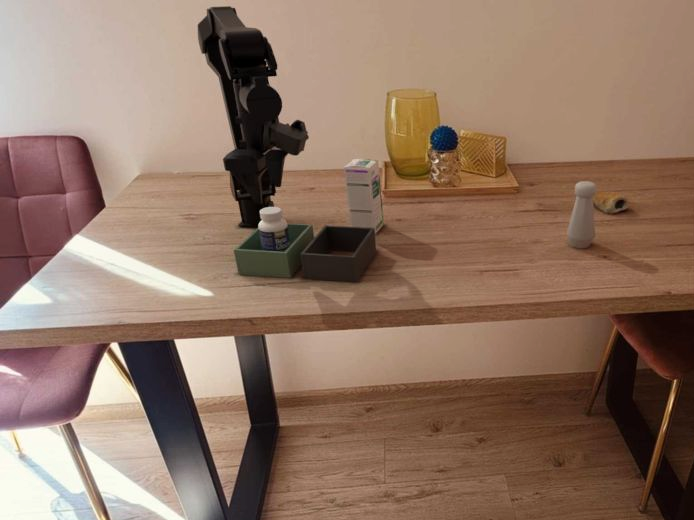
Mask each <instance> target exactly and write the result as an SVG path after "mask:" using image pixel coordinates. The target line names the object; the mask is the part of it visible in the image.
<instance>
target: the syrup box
mask: <svg viewBox="0 0 694 520" xmlns="http://www.w3.org/2000/svg"><path fill="white" fill-rule="evenodd" d="M379 165H380V164H379V160H377V159H372V158H353V159H352V161H350V162H349V163H347V164H346V165H344V166H343V172H344V182H345V191H346V199H347V207H348V215H349V217H348V218H349V224H350V227H364V228H374V229H375V235H376V234H377V233H378V232H379V230H380V229H381V228H382V227H383V226H384V225H385V221H384V211H383V210H384V209H383V198H382V186H381V178H380V177H381V176H380V166H379Z"/></svg>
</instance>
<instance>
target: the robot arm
mask: <svg viewBox="0 0 694 520" xmlns="http://www.w3.org/2000/svg"><path fill="white" fill-rule="evenodd" d="M197 40H198V46H199V49H200V52H201V55H204V56H205V57H204V58H205V60H206V64H207V65H208V67H209V68H210V69H211V70H212V71H213V72H214V74H215V75H216V76H217V77H218V81H219V86H220V90H221V91H220V92H221V94H222V99H223V103H224V107H225V108H224V109H225V113H226V118H227V121H228V126H229V130H230V135H231V140H232V143H233V150H231V151H230V152H228V153H226V155H224V156H223V158H222V162H223V166H224V167H223V168H224V171H225V172H229V188H230V192H231V196H232V197H233V199H234V201H235V202H237V204H238V209H239V214H240V219H241V221H240V222H239V223H238V227H243V228H256V229H257V228H258V225H259V222H260V221H261V220H262V219H261V217H260V210H261V209H263V208H266V207H275V204H274V201H273V200H272V198H271V197H274V196H276V194H277V190H276V189H277V188H282V182H283V175H284V167H285V161H286V158H287V156H288V155H291V156H294V157H295V156H299V155H300V153H301V152H304V151H305V146H306V142H307V141H308V140H309V139H310V137H309V131H308V130H307V128H306V123H305V121H302V120H300V119H296V120H294V121H293V122H292V123H291V124H290V123H288V122H287V123H283V122H280V118H279V116H280V114H281V112H282V109H283V100H282V97H281V95H280V94H279V92H278V91H277V90H276V89H275V88H274V87H272V85H271V84H270V81H269V78H270V77H278V73H277V70H278V62H277V59H276V56H275V54H274V51H273V47H272V45H271V43H270V42H269V40H268V38H267V36H264V35H263V32H262V31H261V30H260V29H258V28H257V27H249V26H248V27H247V26H246V25H245V24H244V22H243V21H242V20H241V18H240V17H239V16H238V13H237V9H236V8H235V7H232V6H230V5H229V6H210V7H209V8H206V16H204V17H203V19H201V21H199V22H198V24H197Z"/></svg>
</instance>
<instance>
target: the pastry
mask: <svg viewBox="0 0 694 520" xmlns="http://www.w3.org/2000/svg"><path fill="white" fill-rule="evenodd" d="M593 204H594V206H596V208H597V209H599V210H600V211H602V212H603V213H605V214H611V215H613V214H616V213H619V212H621V211H625V210H627V209H628V208H629V206H630V201H629V198H627V196H626V195H625V196H624V195H622V194H620V193H619V192H616V191H596V195H595V196H593Z"/></svg>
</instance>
